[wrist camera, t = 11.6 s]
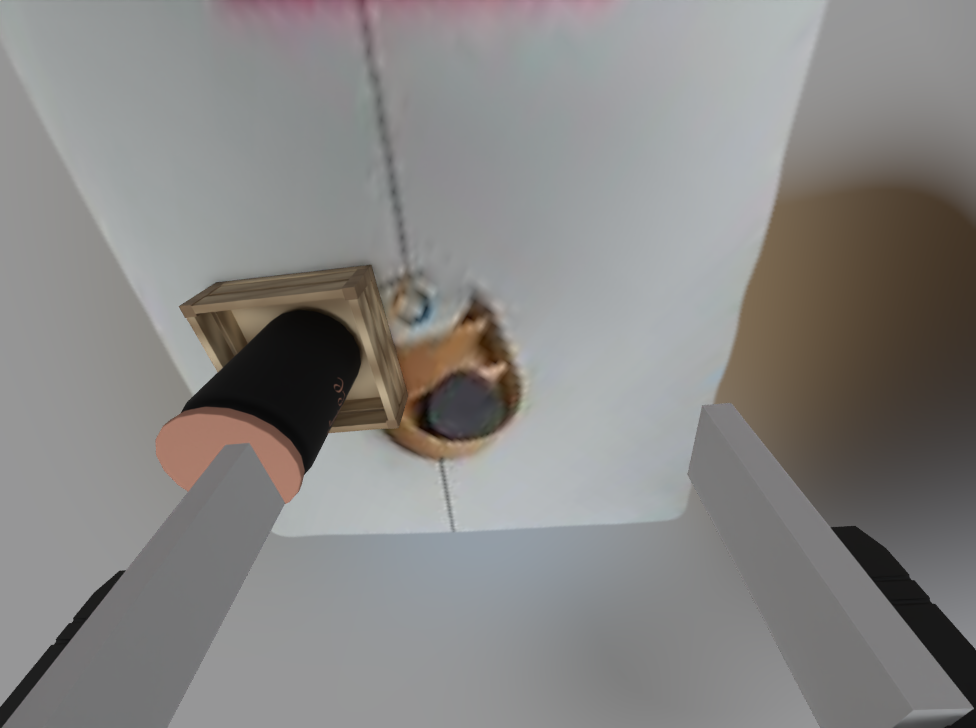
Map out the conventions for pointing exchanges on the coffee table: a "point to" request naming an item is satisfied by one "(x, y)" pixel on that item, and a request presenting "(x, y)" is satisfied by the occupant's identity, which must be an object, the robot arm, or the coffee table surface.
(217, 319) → the pine crate
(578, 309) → the coffee table surface
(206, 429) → the coffee jar
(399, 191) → the coffee table surface
